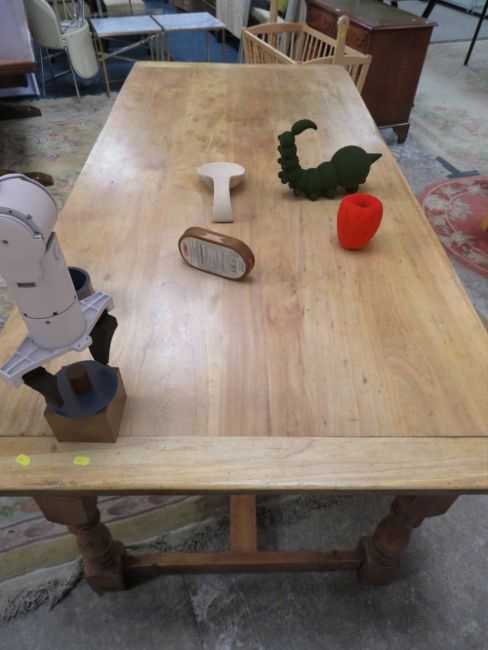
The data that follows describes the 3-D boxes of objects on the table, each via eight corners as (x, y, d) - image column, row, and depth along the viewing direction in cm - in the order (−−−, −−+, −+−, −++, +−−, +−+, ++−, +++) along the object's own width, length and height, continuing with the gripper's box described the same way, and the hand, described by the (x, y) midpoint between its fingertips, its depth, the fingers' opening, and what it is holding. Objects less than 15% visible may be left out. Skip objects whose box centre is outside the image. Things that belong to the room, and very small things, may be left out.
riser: (57, 441, 57) (42, 414, 53) (74, 394, 63) (61, 365, 58) (115, 442, 57) (105, 415, 53) (127, 395, 63) (118, 366, 58)
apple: (358, 263, 86) (371, 215, 79) (322, 245, 91) (331, 198, 83) (381, 245, 91) (395, 198, 84) (346, 229, 95) (356, 182, 88)
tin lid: (34, 418, 52) (24, 401, 50) (58, 361, 58) (50, 343, 56) (110, 420, 52) (104, 403, 50) (125, 362, 59) (120, 344, 56)
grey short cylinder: (39, 322, 73) (28, 298, 69) (55, 289, 79) (46, 265, 75) (89, 323, 73) (82, 299, 69) (101, 290, 79) (95, 267, 75)
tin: (254, 278, 82) (256, 240, 76) (247, 288, 80) (249, 250, 74) (185, 257, 87) (182, 219, 81) (177, 265, 85) (173, 228, 79)
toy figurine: (284, 213, 103) (384, 196, 105) (284, 132, 89) (400, 114, 91) (274, 193, 109) (369, 178, 111) (273, 115, 95) (381, 99, 98)
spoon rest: (197, 174, 112) (196, 146, 107) (243, 173, 113) (244, 146, 108) (197, 223, 95) (195, 193, 90) (250, 223, 96) (251, 193, 91)
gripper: (14, 361, 39) (57, 440, 48) (125, 275, 48) (142, 356, 57) (-36, 331, 41) (14, 412, 51) (78, 254, 50) (102, 335, 60)
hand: (79, 381), depth 54 cm, fingers open, 7 cm apart
